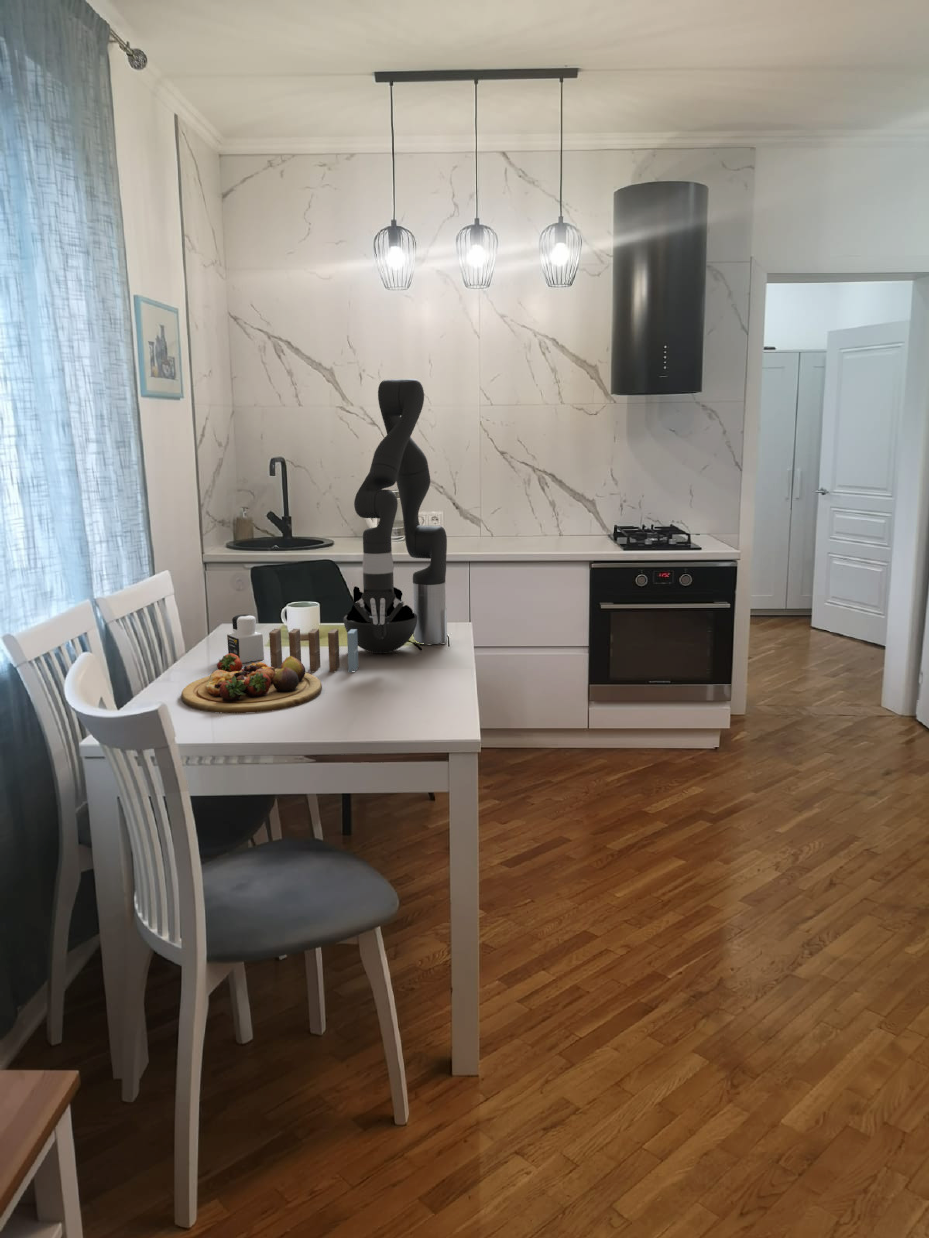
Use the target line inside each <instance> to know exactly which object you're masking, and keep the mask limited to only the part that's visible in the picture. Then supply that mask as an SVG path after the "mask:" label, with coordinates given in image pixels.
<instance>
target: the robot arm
mask: <svg viewBox="0 0 929 1238" xmlns="http://www.w3.org/2000/svg"><path fill="white" fill-rule="evenodd" d="M377 389H378V390H377V401H378V406H379V410H380V414H381V417H382V421H383V425H384V428H385V431H386V432H385V433H386V435H385V436H384V438H383V439H382V440H381V441H380V442H379V444H378V445H377V446H376V448H375V451H374V454H373V457H372V460H371V463H370V469H369V472H368V474H367V475H366V477H365V478H364V480H363V482H362V484H361V485H360V487H359V489H358V490H357V492H356V495H355V498H354V501H353V502H354V503H353V505H354V507H353V508H354V511H355V513H356V514H357V516H358V517H360V518H362V519H379V522H378V524H377V526H374V527H370V528H366V529H364V530H363V533H362V549H363V553H362V582H363V586H362V587H363V588H362V589H363V592H362V593H363V594H362V598H361V599H360V600H359V601H356V602H355V603H354V602H353V604H354V607H355V608H356V609H357V610H358V611H359V613H360V614H361V615H362V616H363V618H364V619H365V620H366V621H367V622H371V623H373V625H374V636H375V637H376V639H383V637H384V636H385V635H386V623H388V622H391V621H392V619H393V618H394V617H395V615H396V614H397V613H398V612H399V610H400V609H401V608H402V606H405V602H404V601H403V600H402V601H400V600H398V599H397V598H396V594H395V593H394V587H395V586H394V559H393V553H392V535H393V527H394V523H395V519H396V515H397V511H398V507H399V506H398V505H399V504H398V503H399V502H398V498H397V496H396V493H394V492H393V491H392V490H390V489H389V488H391V487H393V486H394V485H396V486H397V491H398V494H399V501H400V506H401V512H402V514H401V515H402V521H403V533H404V542H405V547H406V550H407V553H408V555H409V556H410V557H411V558H414V559H427V560H430V561H429V562H430V563H429V565H428V566H427V567H425V568H423V569H419V570H417V571H415V572H413V574H412V594H413V595H412V600H413V601H412V603H413V606H412V607H413V609H412V610H413V613H415V614H416V615H417V624H416V628H415V630H414V633H413V639H414V640H416V641H417V642H419V643H424V644H438V643H446V644H447V641H448V609H447V608H448V607H447V593H446V587H447V586H446V575H447V554H448V553H447V548H448V537H447V532H446V530H445V527H443V526H440V525H421V524H420V520H419V511H420V508H421V505H422V504H423V501H424V500H425V497H426V496H427V494H428V492H429V488H430V485H431V475H430V469H429V463H428V458H427V456H426V454H425V453H424V452H423V450H422V449H421V448H420V447H419V445H418V444H417V443H416V442H415V440H414V439H413V438H412V437H411V436H412V434H413V432H414V429H415V427H416V426H417V423H418V420H419V418H420V415H421V413H422V410H423V407H424V402H425V391H424V386H423V385H422V383H421V381H419V380H418V379H413V378H397V379H396V378H395V379H391V378H390V379H384V380H382V381H380V383H379V385H378V388H377ZM393 601H394V608H395V609H394V610H393V611H392V613H391V614H390V615H389V616H388V617H386V613H387V609H388V608H389V607H390V606H391V604H392V603H393ZM364 602H365V603H366V605H367V606H368V607H369V609H370V610H371V611H372V616H371V615H370V614H369V613H368V611H367V610H366V609H365V608H364V606H365V604H364ZM379 610H380V623H379ZM414 640H413V641H414ZM446 640H447V641H446ZM438 645H439V644H438Z"/></svg>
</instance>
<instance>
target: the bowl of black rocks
mask: <svg viewBox="0 0 929 1238" xmlns="http://www.w3.org/2000/svg"><path fill="white" fill-rule="evenodd" d="M352 592H353V593H352V594H353V595H352V596H353V604H352V605H351V610H350V611H349V612H348V613H347V614H346V615H344V617H342V618H343V625H344V629H345V631H346V634H347V633H348V632H349V631H350V630H351V629H357V640H358V648H359V647H360V649H362V650H365V651H366V652H370V653H373V654H386V653H391V652H395V651H397V650H399V649H400V648H402V647H403V646H404V645H405V644H406V643H407V642H409V640H410V639H411V638H412V636H413V635H414V630H415V628H416V624H417V615H416V614H415V613H414V611H413V609H412V608H411V606H410V605H408V604H404V605H403V606H402V608H401V609H400V610H399V612H398V613H397V614H396V615H395V617H394V618H393V619H392V621H391V622H388V623H386V635H385V636H384V637H383V639H376V637H375V636H374V625H373V623H371V622H367V621H366V620H365V619H364V618H363V616H362V615H361V614H360V613H359V611H358V610H357V609H356V608H355V607H354V603H355V602H356V601H359V600H360V599H361V598H362V594H363V592H362V591H361V590H360V587H359V586H353V590H352ZM394 593H395V594H396V598H397V599H398V600H400V601H403V600H402V599H403V598H402V597H403V591H402V590H401V589H399V588H397V587H395V586H394ZM364 604H365V606H364V608H365V609H366V610H367V611H368V613H369V614H370V615H371V616H372V611H371V610H370V609H369V607H368V606H367V605H366V603H365V602H364ZM394 609H395V608H394V601H393V603H392V604H391V606H390V607H389V608H388V609H387V613H386V617H388V616H389V615H390V614H391V613H392V611H393V610H394ZM379 623H380V610H379Z"/></svg>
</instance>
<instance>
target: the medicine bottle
mask: <svg viewBox="0 0 929 1238" xmlns="http://www.w3.org/2000/svg"><path fill="white" fill-rule="evenodd" d="M256 620H257V619H256V616H254V615H252V614H238V615H235V616H233V617H232V619H231V621H232V622H231V623H232V632H228V633H227V639H226V640H227V651H228V653H227V654H230V653H233V654H235V655H237V656H238V657H239V659H240V661H241V662H242V664H247V663H251V662H250V661H253V662H260V661H263V660H265V652H264V637H263V636H264V635H263V633H260V632H257V622H256ZM246 662H247V663H246Z"/></svg>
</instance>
